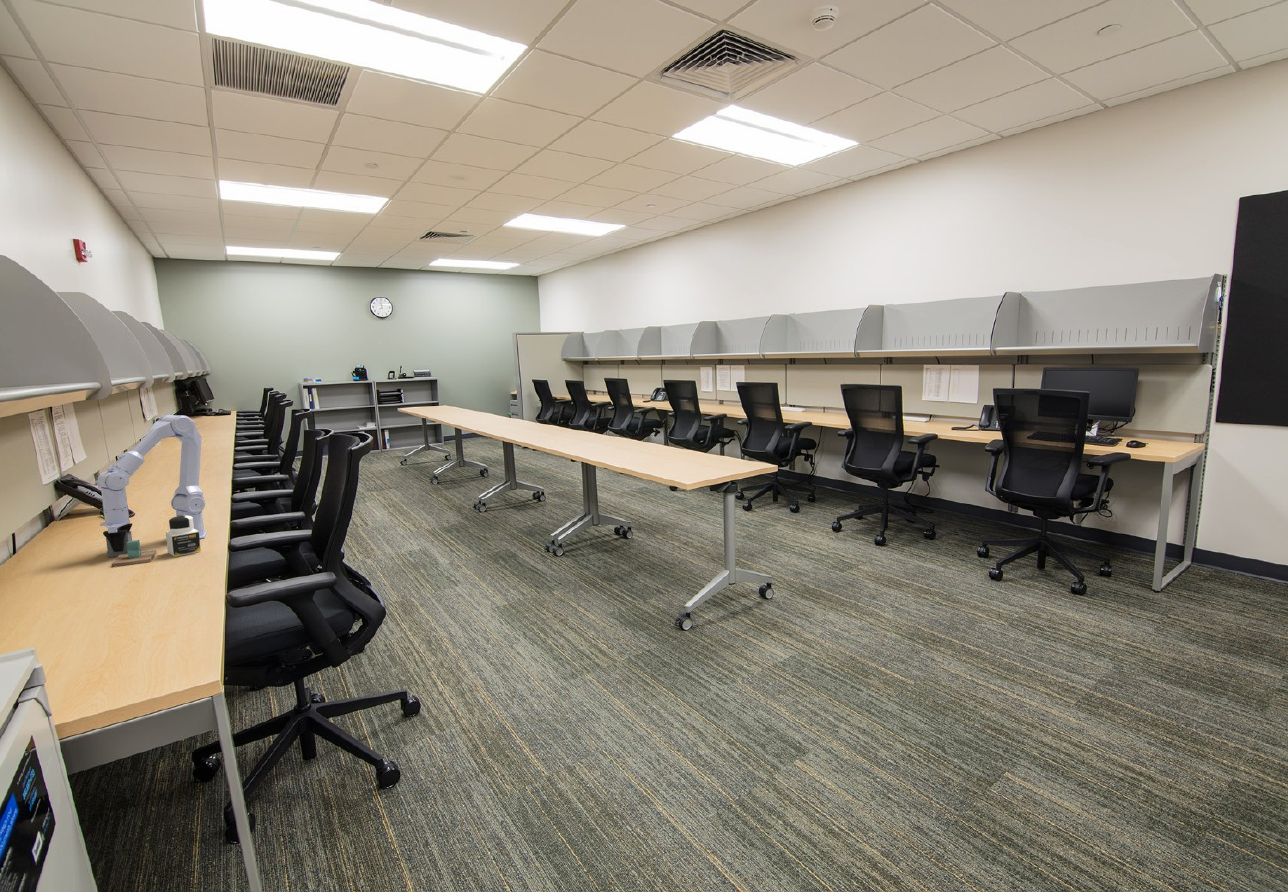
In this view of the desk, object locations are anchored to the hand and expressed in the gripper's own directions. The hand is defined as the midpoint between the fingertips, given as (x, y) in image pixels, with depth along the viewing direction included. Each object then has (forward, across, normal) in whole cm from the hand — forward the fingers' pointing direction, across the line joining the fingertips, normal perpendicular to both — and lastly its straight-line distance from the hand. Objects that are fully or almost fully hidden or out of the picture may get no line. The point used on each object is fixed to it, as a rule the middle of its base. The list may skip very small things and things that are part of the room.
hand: (120, 549), depth 183 cm
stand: (+2, +10, +5) cm, 11 cm away
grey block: (+2, 0, 0) cm, 2 cm away
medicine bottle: (+2, +8, +17) cm, 19 cm away
